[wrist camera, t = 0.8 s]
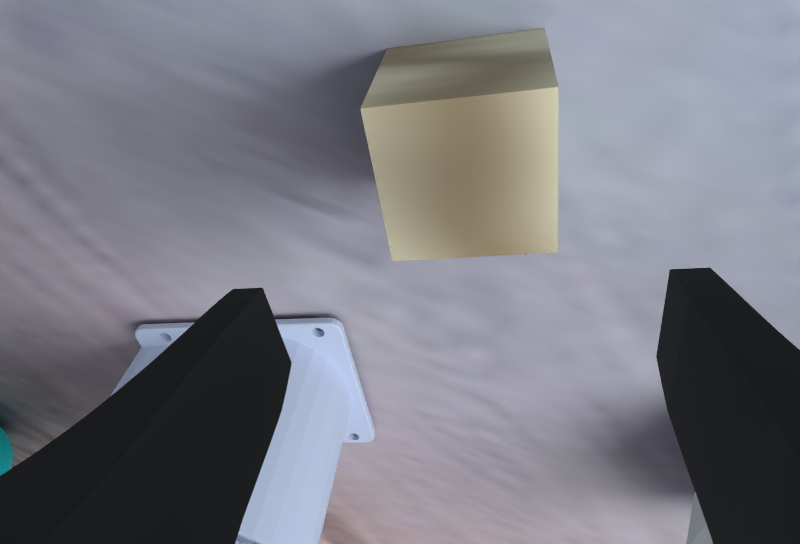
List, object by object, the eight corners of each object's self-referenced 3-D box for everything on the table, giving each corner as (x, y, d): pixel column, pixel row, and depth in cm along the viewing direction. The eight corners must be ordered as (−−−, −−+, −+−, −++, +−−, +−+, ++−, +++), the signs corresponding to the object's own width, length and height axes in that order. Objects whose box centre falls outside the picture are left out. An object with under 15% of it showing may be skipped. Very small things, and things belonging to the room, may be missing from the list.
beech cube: (410, 181, 20) (392, 261, 16) (387, 47, 17) (360, 108, 14) (546, 170, 19) (558, 252, 15) (544, 27, 16) (558, 86, 13)
